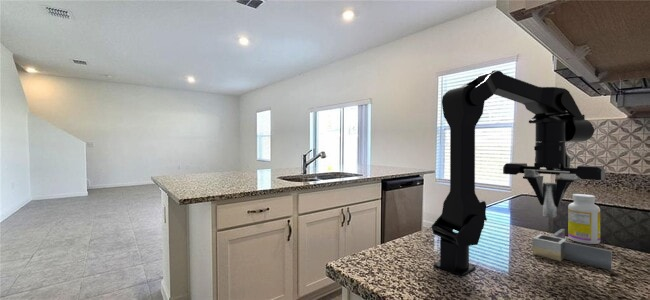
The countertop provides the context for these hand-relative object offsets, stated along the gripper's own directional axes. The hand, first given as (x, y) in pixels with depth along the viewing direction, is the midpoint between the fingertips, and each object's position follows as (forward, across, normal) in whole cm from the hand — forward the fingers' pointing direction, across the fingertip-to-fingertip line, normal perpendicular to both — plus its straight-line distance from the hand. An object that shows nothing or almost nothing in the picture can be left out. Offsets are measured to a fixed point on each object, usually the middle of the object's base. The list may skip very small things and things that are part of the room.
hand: (549, 205), depth 69 cm
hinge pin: (+2, 0, 0) cm, 2 cm away
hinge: (+12, -4, -5) cm, 14 cm away
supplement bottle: (+12, -3, -20) cm, 24 cm away
